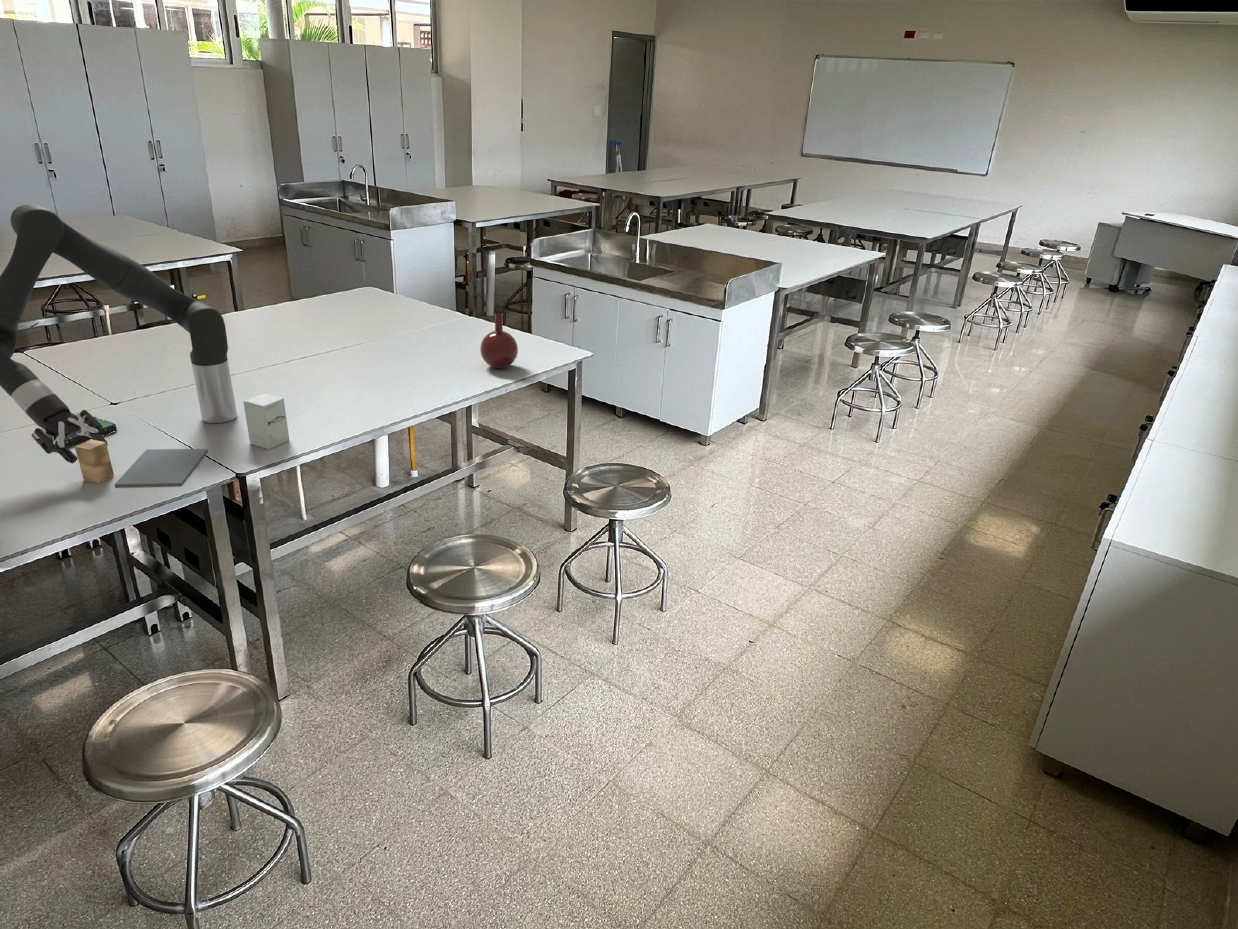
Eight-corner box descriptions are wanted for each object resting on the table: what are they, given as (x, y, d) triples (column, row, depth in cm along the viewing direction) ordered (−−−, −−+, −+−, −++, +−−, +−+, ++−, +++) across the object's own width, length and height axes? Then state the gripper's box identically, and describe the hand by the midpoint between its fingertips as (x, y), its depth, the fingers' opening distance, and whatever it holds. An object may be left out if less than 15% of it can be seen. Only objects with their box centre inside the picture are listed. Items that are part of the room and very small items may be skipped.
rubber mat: (146, 451, 207) (146, 449, 207) (207, 450, 210) (207, 448, 209) (114, 486, 190) (114, 484, 189) (182, 485, 192) (181, 483, 192)
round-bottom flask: (486, 375, 274) (485, 318, 266) (476, 363, 285) (475, 308, 276) (522, 371, 279) (522, 316, 271) (511, 360, 290) (511, 306, 281)
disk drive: (63, 451, 206) (118, 432, 218) (60, 442, 205) (116, 423, 217) (40, 442, 210) (96, 424, 222) (37, 432, 209) (93, 414, 221)
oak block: (99, 472, 196) (90, 439, 192) (114, 475, 195) (105, 442, 191) (83, 480, 192) (74, 446, 188) (98, 483, 191) (90, 449, 187)
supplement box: (269, 450, 212) (262, 406, 207) (249, 444, 215) (242, 400, 209) (290, 440, 218) (284, 397, 213) (270, 434, 221) (264, 392, 215)
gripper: (17, 404, 180) (70, 457, 183) (72, 384, 193) (121, 435, 195) (6, 422, 184) (58, 474, 186) (60, 401, 196) (108, 451, 199)
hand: (90, 454), depth 191 cm, fingers open, 8 cm apart
